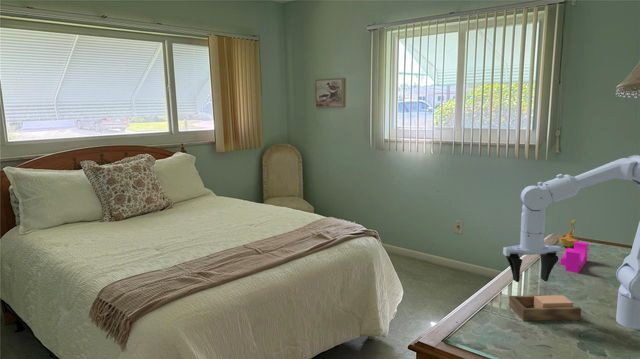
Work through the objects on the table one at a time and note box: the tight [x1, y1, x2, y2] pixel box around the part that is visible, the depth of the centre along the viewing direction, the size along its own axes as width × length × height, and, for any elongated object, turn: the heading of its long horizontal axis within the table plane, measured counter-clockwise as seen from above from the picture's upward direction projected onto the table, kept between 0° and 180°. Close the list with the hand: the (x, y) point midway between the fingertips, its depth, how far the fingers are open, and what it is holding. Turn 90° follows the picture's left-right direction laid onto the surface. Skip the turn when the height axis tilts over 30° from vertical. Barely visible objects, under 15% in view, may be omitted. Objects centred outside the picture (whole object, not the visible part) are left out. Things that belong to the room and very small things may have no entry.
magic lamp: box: [559, 219, 580, 249], centre depth 173 cm, size 7×18×11 cm, turn 138°
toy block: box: [560, 241, 589, 274], centre depth 156 cm, size 15×6×8 cm, turn 140°
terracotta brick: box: [533, 294, 574, 308], centre depth 121 cm, size 8×5×4 cm, turn 90°
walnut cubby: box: [508, 294, 582, 322], centre depth 121 cm, size 15×9×3 cm, turn 90°
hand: (530, 280), depth 120 cm, fingers open, 7 cm apart
